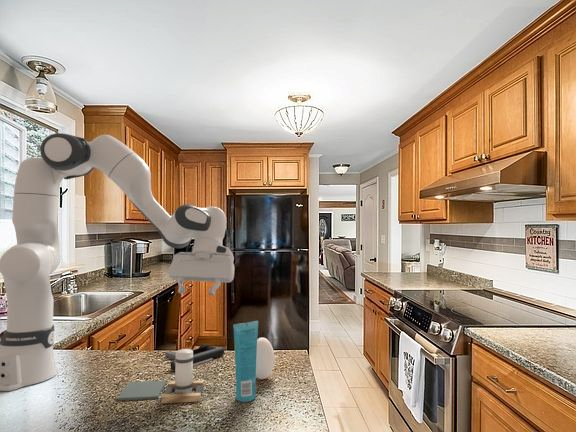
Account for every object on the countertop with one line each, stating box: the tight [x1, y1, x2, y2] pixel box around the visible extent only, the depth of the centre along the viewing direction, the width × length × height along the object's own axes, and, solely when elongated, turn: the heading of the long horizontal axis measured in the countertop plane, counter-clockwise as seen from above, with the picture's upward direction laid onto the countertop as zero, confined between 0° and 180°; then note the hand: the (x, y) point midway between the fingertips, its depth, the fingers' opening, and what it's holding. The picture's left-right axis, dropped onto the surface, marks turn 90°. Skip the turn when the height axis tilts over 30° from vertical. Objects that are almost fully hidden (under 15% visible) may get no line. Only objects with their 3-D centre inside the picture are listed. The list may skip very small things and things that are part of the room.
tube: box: [233, 320, 259, 403], centre depth 95 cm, size 7×5×19 cm, turn 133°
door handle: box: [165, 344, 225, 371], centre depth 124 cm, size 3×20×16 cm
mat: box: [116, 380, 167, 402], centre depth 98 cm, size 10×10×1 cm
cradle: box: [160, 379, 205, 404], centre depth 97 cm, size 9×9×2 cm
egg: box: [256, 337, 276, 380], centre depth 107 cm, size 7×7×12 cm
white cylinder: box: [174, 348, 194, 394], centre depth 97 cm, size 5×5×11 cm
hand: (196, 293), depth 110 cm, fingers open, 8 cm apart
